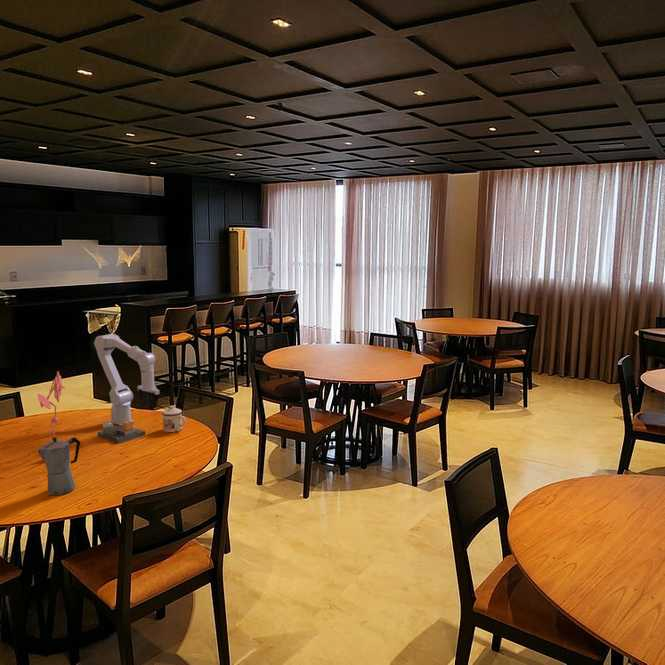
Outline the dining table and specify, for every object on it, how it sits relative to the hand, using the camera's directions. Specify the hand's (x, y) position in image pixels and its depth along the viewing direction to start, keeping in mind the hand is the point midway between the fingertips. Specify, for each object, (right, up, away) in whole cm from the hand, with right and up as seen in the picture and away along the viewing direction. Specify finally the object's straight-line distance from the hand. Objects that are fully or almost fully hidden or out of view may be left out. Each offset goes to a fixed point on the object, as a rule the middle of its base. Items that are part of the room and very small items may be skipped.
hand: (149, 406), depth 279 cm
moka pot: (-9, -21, -69) cm, 73 cm away
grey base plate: (-9, -12, -12) cm, 19 cm away
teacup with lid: (+14, -11, -4) cm, 18 cm away
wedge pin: (-6, -12, -12) cm, 18 cm away
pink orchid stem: (-25, -16, -34) cm, 45 cm away
